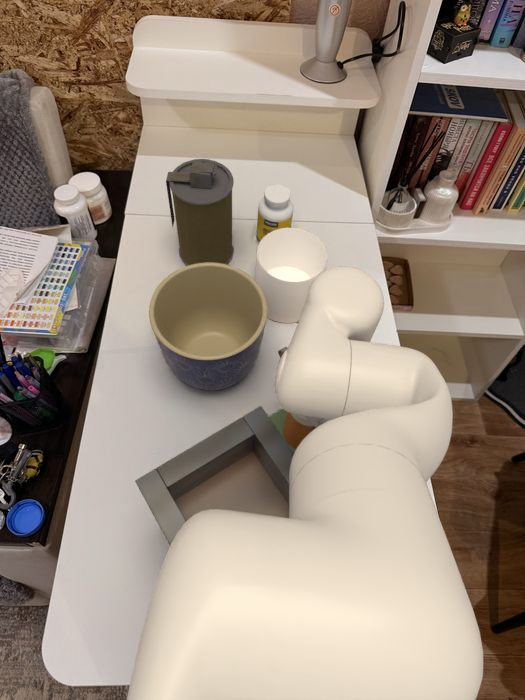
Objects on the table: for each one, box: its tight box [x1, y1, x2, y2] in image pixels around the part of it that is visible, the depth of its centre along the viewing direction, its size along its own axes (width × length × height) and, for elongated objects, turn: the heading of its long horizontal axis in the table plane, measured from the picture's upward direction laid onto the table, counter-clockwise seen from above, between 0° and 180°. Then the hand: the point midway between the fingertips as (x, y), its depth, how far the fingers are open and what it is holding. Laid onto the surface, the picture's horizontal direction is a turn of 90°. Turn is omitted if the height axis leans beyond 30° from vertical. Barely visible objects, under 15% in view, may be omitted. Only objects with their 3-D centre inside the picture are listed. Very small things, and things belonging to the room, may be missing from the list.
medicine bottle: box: [283, 412, 316, 448], centre depth 75 cm, size 6×6×12 cm
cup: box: [254, 227, 329, 324], centre depth 88 cm, size 12×12×12 cm
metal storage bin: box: [134, 405, 294, 546], centre depth 63 cm, size 16×16×22 cm
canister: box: [165, 158, 235, 267], centre depth 89 cm, size 11×10×20 cm
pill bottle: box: [256, 183, 294, 243], centre depth 96 cm, size 6×6×12 cm
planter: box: [148, 262, 268, 391], centre depth 80 cm, size 17×17×15 cm
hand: (307, 414), depth 74 cm, fingers closed on medicine bottle, 6 cm apart
